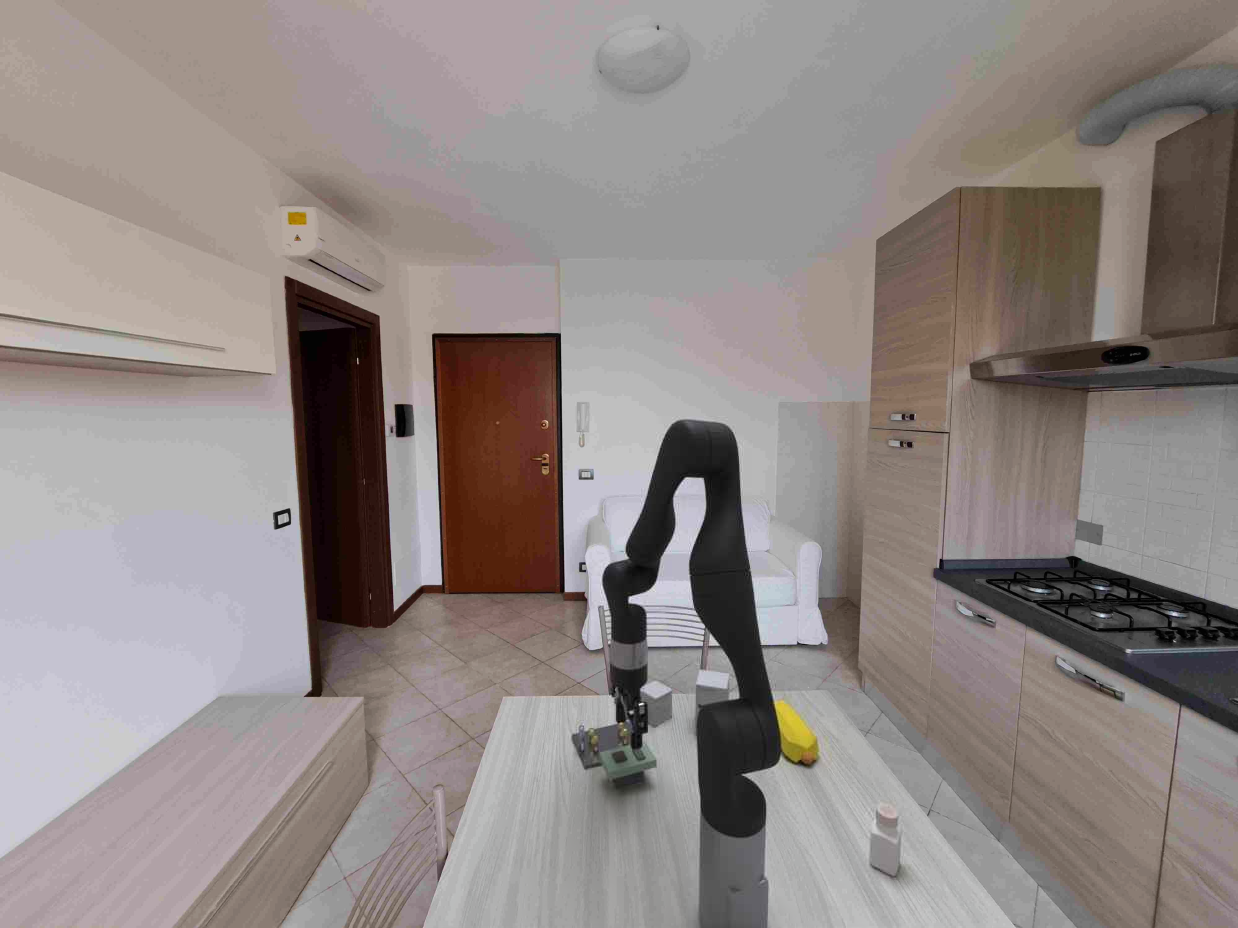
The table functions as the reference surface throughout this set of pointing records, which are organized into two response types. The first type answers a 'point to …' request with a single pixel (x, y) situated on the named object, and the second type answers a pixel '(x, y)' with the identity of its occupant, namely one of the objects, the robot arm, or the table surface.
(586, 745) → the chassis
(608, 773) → the board
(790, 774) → the table surface
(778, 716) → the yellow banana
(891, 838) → the salt shaker
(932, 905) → the table surface
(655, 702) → the product box
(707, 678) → the supplement box
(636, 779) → the block
